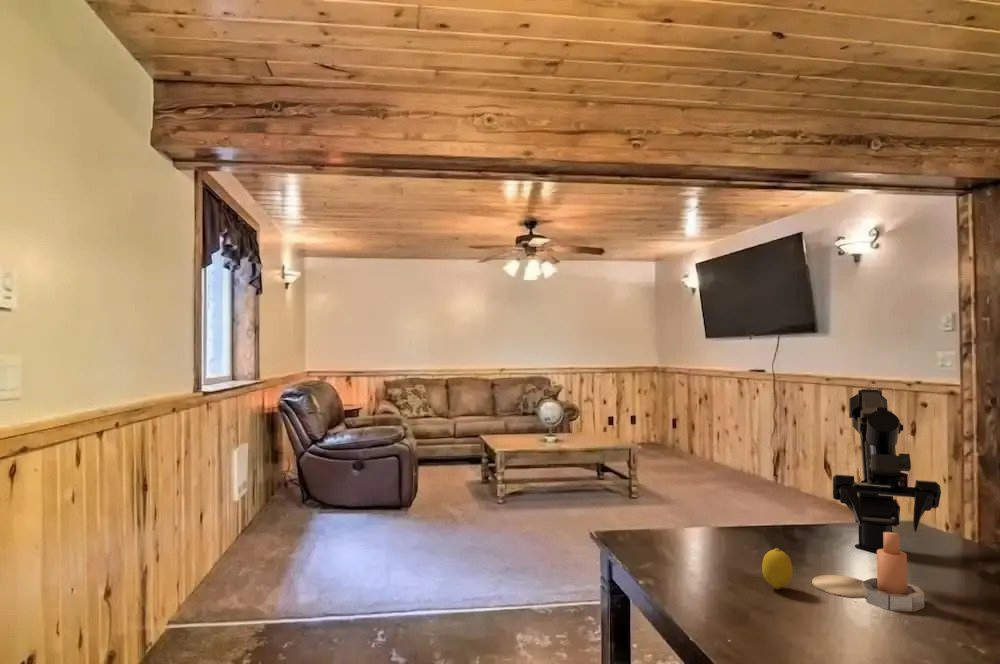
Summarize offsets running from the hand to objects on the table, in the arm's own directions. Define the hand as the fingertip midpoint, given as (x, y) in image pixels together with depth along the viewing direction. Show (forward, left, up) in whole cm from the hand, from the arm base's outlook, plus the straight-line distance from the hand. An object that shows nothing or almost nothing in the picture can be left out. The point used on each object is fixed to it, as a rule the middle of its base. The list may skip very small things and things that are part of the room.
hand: (888, 527), depth 128 cm
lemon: (-12, -18, -12) cm, 25 cm away
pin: (+3, -5, -12) cm, 13 cm away
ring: (+3, -5, -12) cm, 13 cm away
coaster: (-6, -6, -12) cm, 15 cm away
